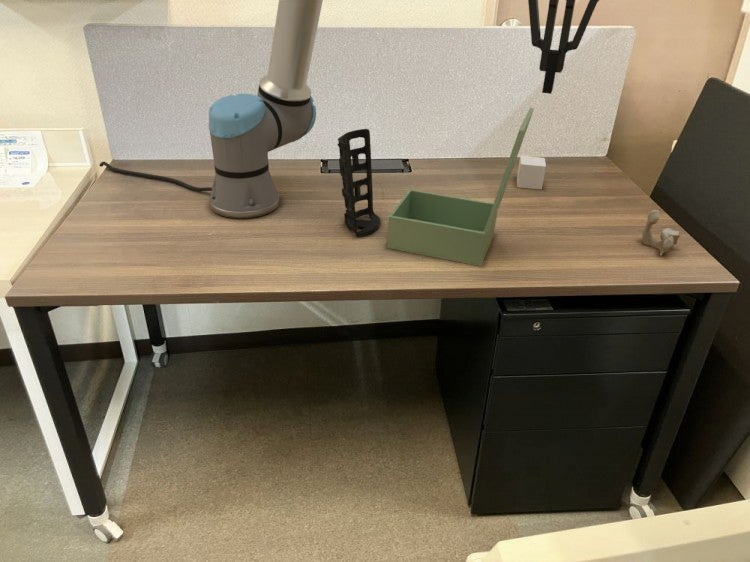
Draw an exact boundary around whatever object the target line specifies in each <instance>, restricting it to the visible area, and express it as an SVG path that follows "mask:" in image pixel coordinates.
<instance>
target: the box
mask: <svg viewBox="0 0 750 562" xmlns="http://www.w3.org/2000/svg"><path fill="white" fill-rule="evenodd" d="M493 204H494V202H487V201H484V200H483V201H482V200H476V199H471V198H464V197H459V196H452V195H447V194H446V195H445V194H441V193H434V192H428V191H423V190H416V189H408V190H407V192H406V193H405V194H404V196H403V197H402V198H401V200H400V201H399V202H398V203H397V204H396V206H395V207H394V208H393V210H392V211H391V213H389V215H388V219H387V220H388V221H387V242H386V243H387V245H386V249H390V250H396V251H400V252H406V253H411V254H417V255H421V256H427V257H431V258H437V259H442V260H447V261H451V262H458V263H463V264H467V265H472V266H473V265H474V266H477V267H482V266H483V263H484V260H485V257H486V255H487V253H488V250H489V248H490V245H491V243H492V240H493V238H494V235H495V230H496V224H497V217H498V211H499V209H498V210H497V213H496V215H495V217H494V220H493V222H492V225H491V227H490V229H489V232H486V231H484V230H485V227H486V224H487V221H488V218H489V215H490V213H491V210H492V207H493Z"/></svg>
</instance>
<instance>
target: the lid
mask: <svg viewBox="0 0 750 562" xmlns="http://www.w3.org/2000/svg"><path fill="white" fill-rule="evenodd" d="M534 110H535V108H534V107H529V108H528V110H527V112H526V115H525V118H524V119H523V121H522V123H521V125H520V128H519V129H518V132H517V135H516V138H515V141H514V143H513V147H512V149H511V152H510V155H509V158H508V160H507V164H506V166H505V170H504V173H503V175H502V178H501V181H500V184H499V187H498V189H497V192H496V194H495V195H496V196H495V198H494V201H493V203H494V204H493V207H492V210H491V213H490V215H489V218H488V221H487V224H486V227H485V230H484V231H486V232H489V229H490V227H491V225H492V222H493V220H494V217H495V215H496V213H497V214H498V211H499V208H500V206H501V203H502V201H503V198H504V195H505V192H506V189H507V186H508V183H509V181H510V178H511V176H512V173H513V170H514V167H515V164H516V161H517V158H518V155H519V153H520V151H521V147H522V144H523V141H524V139H525V136H526V133H527V130H528V127H529V125H530V121H531V119H532V116H533V113H534ZM497 210H498V211H497Z"/></svg>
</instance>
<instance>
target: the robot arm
mask: <svg viewBox="0 0 750 562" xmlns="http://www.w3.org/2000/svg"><path fill="white" fill-rule="evenodd" d="M323 1H324V0H278V3H277V10H276V16H275V24H274V31H273V36H272V42H271V43H272V44H271V51H270V57H269V63H268V70H267V74H265V75H264V76H263V77H260V79H259V82H258V89H257V94H252V93H237V94H236V95H235V94H234V95H233V94H231V95H226V96H224V97H221V98H219V99H217V100H215V101H214V102H213V103H212V104H211V106H210V107H209V109H208V130H209V135H210V142H211V143H210V144H211V151H212V157H213V164H214V178H213V182H212V186H211V187H210V186H209V187H208V186H207V187H206V186H205V187H198V186H193V185H191V184H188V183H186V182H183V181H181V180H179V179H176V178H172V177H168V176H164V175H157V174H153V173H152V174H151V173H145V172H139V171H134V170H128V169H123V168H119V167H118V168H117V167H114V166H113V165H111V164H109V163H108V162H107V161H101V162H100V163H99V165H98V166H99V167H104V166H105V167H106V168H107V169H109V170H111V171H113V172H115V173H121V174H125V175H126V174H127V175H130V176H131V175H132V176H137V177H143V178H149V179H155V180H161V181H167V182H171V183H173V184H177V185H179V186H182V187H183V188H186V189H189V190H192V191H195V192H210V198H209V203H210V209H211V210H212V211H213V213H215V214H217V215H219V216H222V217H226V218H230V219H253V218H258V217H261V216H262V217H263V216H266V215H268V214H270V213H272V212H274V211H275V210H276V209H277V208H278V207H279V205H280V194H279V192H278V189H277V187H276V184H275V182H274V180H273V177H272V174H271V172H270V165H269V152H272V151H274V150H276V149H279V148H281V147H283V146H286V145H288V144H291V143H295V142H297V141H298V140H301V139H302V138H303V137H304V136H306V135H308V134H309V133H310V132H311V131H312V129H313V127H314V125H315V122H316V119H317V108H316V105H315V104H314V102H315V101H314V98H313V96H312V89H311V88H310V86H309V85H308V83H307V82H308V78H309V72H310V67H311V62H312V58H313V57H312V56H313V52H314V47H315V42H316V37H317V32H318V27H319V21H320V16H321V12H322V6H323ZM559 1H560V0H548V10H547V15H546V21H545V28H544V34H543V38H542V37H541V36H542V34H541V23H540V10H539V9H540V8H539V0H527V3H528V14H529V28H530V39H531V45H532V47H536V48H538V49H539V50H540V51H541V53H540V54H541V55H540V61H539V71H540V72H544V79H543V83H542V84H543V85H542V90H541V91H542V94H550V95H551V94H552V92H553V89H554V85H555V78H556V73H559V74H561V73H562V71H563V70H564V66H565V60H566V55H567V53H568V52H570V51H575V50H577V49H578V48H579V46H580V43H581V41H582V39H583V37H584V34H585V32H586V30H587V27H588V25H589V22H590V20H591V18H592V15H593V13H594V12H595V9H596V7H597V4H598V3H599V1H600V0H589V1H588V3H587V5H586V8H585V10H584V13H583V15H582V17H581V19H580V22H579V24H578V27H577V29H576V31H575V33H574V36H573V39H572V40H570V33H571V27H572V22H573V16H574V10H575V6H576V5H575V4H576V0H565V5H564V6H565V7H564V14H563V21H562V24H561V30H560V31H561V32H560V37H559V43H558V48H557V49H552V48H551V47H552V43H553V37H554V31H555V25H556V20H557V13H558V7H559V3H560V2H559ZM569 40H570V41H569Z"/></svg>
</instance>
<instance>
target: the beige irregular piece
mask: <svg viewBox="0 0 750 562" xmlns="http://www.w3.org/2000/svg"><path fill="white" fill-rule="evenodd" d="M660 214H661V213H660V211H659V210H658V209H652V210H650V211H649V213H648V215H647V221H646V223H645V226H644V229H643V231H642V236H641V243H642V244H643V245H646V246H650V247H653V248H656V249H658V250H659V252H660V253H659V256H660V257H662V256H663V255H664V253H667V252H669V250H671V249H672V248H673V247H674V245H678V241H679V238H680V237H681V233H680V230H674V229H672V228H670V227H666V228H664V229H662V230H661V232H660V234H659V239H660V240H658V239H657V238H655V236H654V235H653V234H652V228H653V225H656V224H657V223H658V221H659V220H660Z"/></svg>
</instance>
